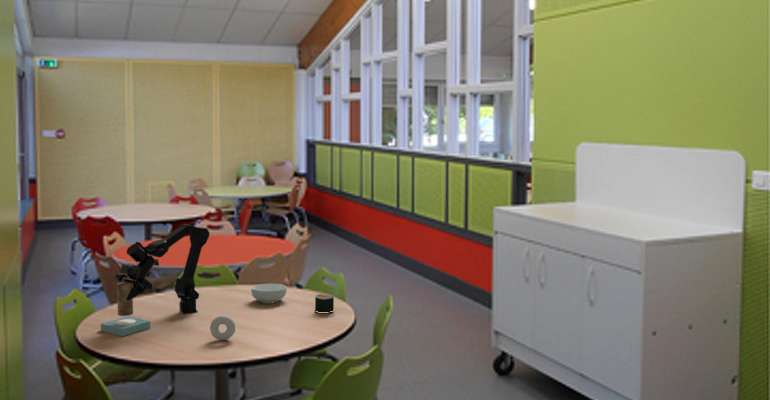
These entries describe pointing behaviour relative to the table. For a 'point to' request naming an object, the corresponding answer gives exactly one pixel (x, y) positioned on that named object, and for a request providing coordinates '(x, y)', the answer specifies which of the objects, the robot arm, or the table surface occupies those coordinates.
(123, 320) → the plinth
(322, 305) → the sushi
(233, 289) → the table surface
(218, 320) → the donut
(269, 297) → the cereal bowl
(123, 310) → the walnut post
